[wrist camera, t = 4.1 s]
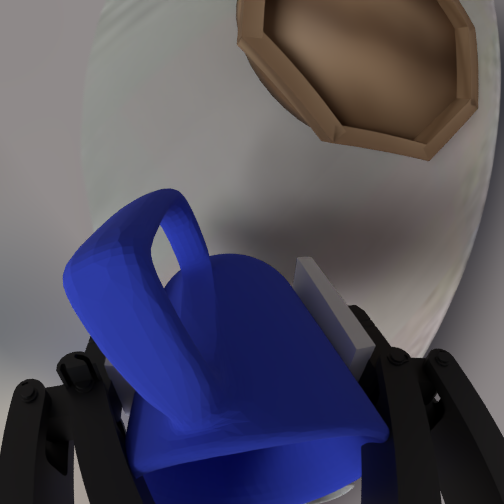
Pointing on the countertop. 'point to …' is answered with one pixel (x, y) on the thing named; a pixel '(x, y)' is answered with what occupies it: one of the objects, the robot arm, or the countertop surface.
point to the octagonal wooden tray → (367, 68)
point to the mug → (218, 367)
